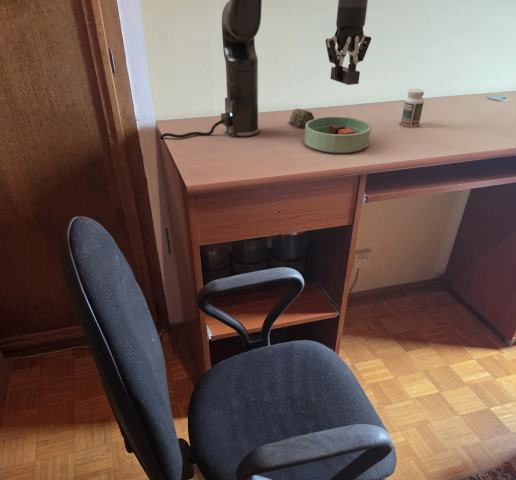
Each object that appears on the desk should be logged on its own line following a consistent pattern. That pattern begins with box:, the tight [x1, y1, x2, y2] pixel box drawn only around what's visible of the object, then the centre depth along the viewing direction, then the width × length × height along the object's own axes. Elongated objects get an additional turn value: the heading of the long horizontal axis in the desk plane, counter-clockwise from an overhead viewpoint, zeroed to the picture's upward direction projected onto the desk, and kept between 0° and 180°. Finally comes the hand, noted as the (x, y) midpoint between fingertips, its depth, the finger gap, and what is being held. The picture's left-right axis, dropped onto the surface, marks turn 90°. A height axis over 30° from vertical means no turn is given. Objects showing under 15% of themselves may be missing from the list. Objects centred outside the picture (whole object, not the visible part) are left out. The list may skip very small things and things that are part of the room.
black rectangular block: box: [329, 66, 361, 86], centre depth 127 cm, size 9×4×3 cm, turn 26°
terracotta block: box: [338, 128, 356, 135], centre depth 129 cm, size 4×4×4 cm
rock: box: [289, 108, 315, 129], centre depth 145 cm, size 7×8×4 cm
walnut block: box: [328, 124, 346, 135], centre depth 132 cm, size 4×4×4 cm
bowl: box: [303, 116, 372, 154], centre depth 130 cm, size 19×19×5 cm
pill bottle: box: [400, 88, 425, 128], centre depth 142 cm, size 6×6×10 cm
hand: (344, 79), depth 127 cm, fingers closed on black rectangular block, 3 cm apart
